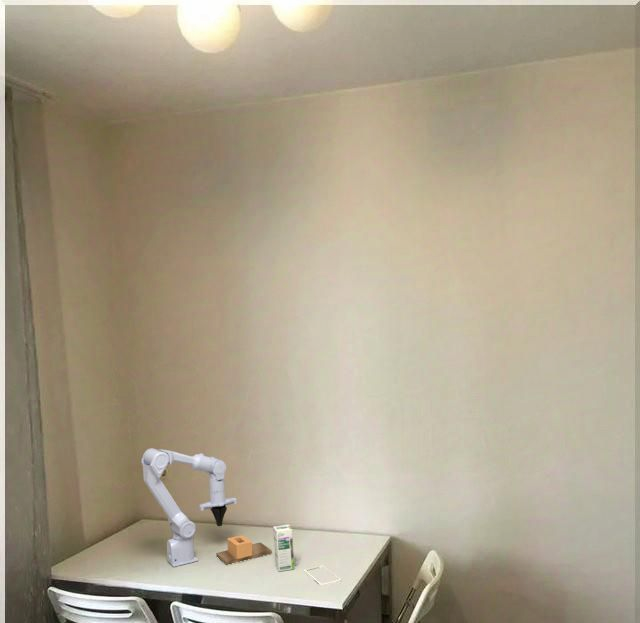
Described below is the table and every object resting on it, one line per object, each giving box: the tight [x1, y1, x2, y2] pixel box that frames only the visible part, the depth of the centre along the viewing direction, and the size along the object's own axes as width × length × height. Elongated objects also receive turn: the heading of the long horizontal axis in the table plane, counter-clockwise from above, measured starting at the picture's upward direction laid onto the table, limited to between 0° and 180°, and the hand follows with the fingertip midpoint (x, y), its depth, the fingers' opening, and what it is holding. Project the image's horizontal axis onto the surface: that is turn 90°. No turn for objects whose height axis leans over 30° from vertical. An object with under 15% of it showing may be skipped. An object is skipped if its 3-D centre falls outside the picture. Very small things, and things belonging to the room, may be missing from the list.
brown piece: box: [215, 541, 273, 566], centre depth 257 cm, size 18×10×6 cm, turn 119°
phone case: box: [303, 564, 342, 587], centre depth 234 cm, size 7×1×15 cm
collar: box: [227, 534, 253, 559], centre depth 255 cm, size 6×9×5 cm, turn 30°
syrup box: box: [272, 524, 295, 572], centre depth 243 cm, size 6×6×14 cm
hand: (219, 525), depth 264 cm, fingers closed
